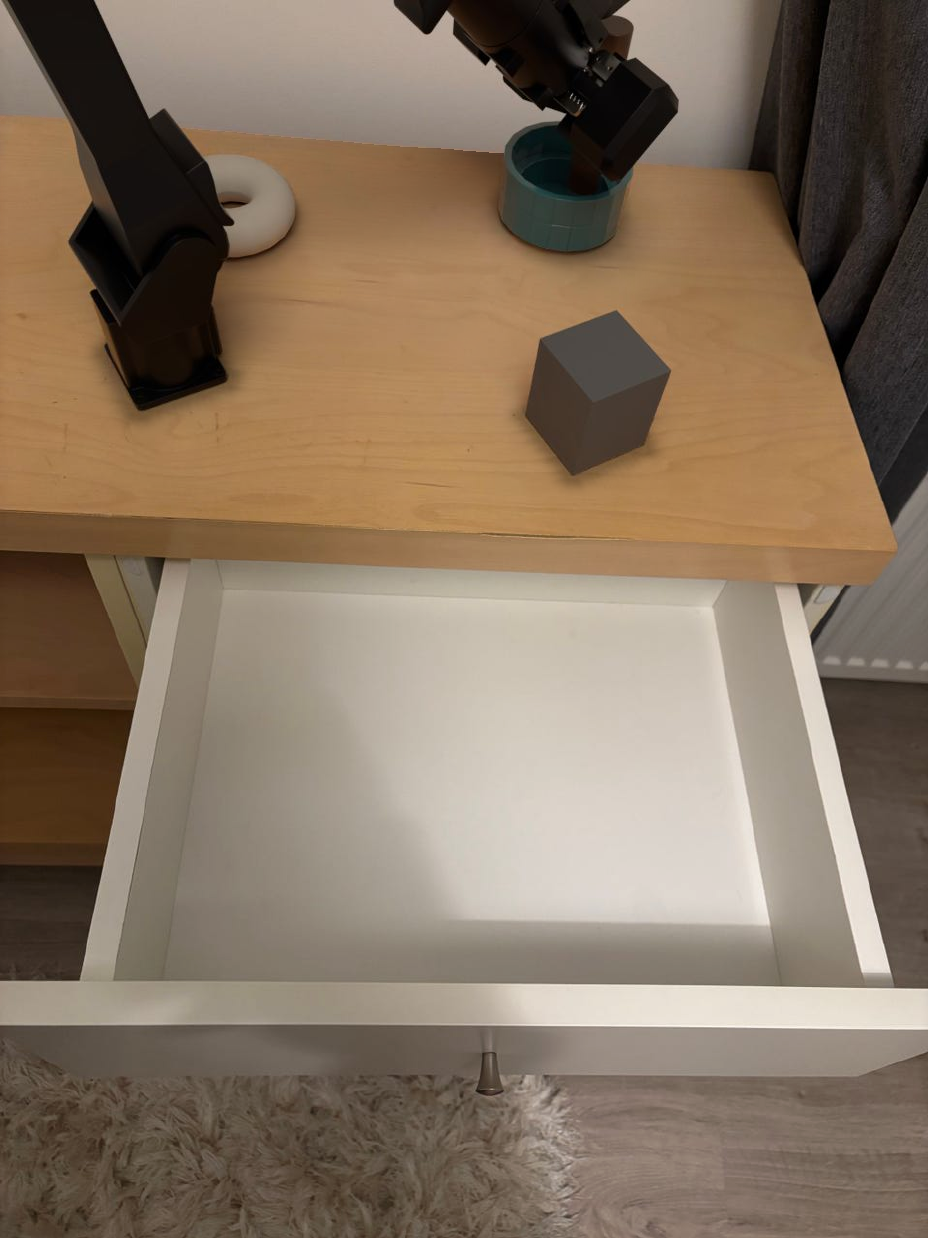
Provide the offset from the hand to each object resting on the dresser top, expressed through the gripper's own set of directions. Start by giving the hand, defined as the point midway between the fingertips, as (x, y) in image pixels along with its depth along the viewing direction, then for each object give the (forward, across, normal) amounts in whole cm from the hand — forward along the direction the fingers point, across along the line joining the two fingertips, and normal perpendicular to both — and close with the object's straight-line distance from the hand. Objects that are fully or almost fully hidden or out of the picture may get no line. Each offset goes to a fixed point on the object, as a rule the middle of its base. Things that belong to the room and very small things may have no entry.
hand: (608, 125), depth 68 cm
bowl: (+3, 0, +7) cm, 8 cm away
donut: (-14, +12, +24) cm, 30 cm away
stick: (+2, 0, +4) cm, 5 cm away
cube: (-6, -19, +16) cm, 25 cm away
